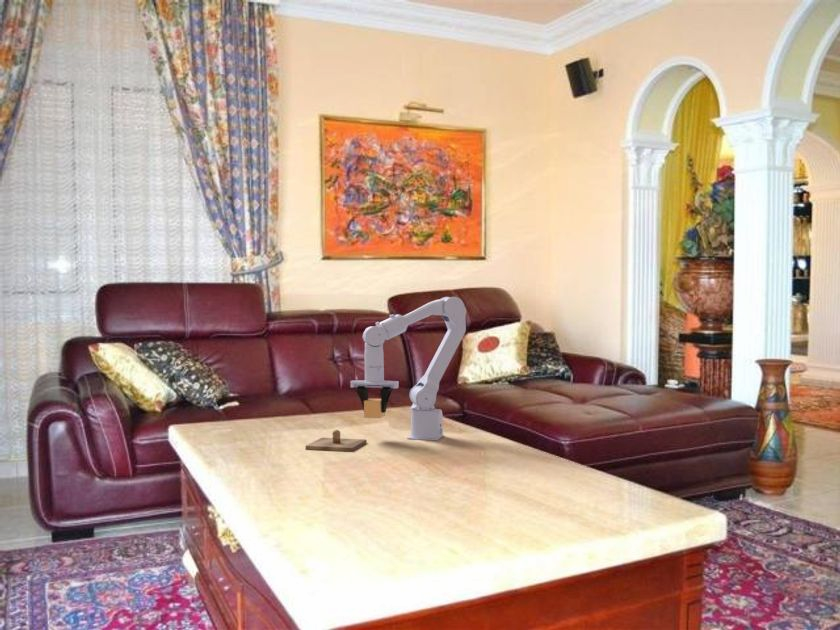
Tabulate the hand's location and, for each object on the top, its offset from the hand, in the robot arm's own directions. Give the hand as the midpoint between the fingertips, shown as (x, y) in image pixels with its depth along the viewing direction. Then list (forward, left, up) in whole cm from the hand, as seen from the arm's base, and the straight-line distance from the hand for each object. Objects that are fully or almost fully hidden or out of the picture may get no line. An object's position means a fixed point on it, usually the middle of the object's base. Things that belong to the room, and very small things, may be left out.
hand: (374, 411), depth 221 cm
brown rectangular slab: (+8, +11, -8) cm, 16 cm away
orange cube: (0, 0, -1) cm, 1 cm away
